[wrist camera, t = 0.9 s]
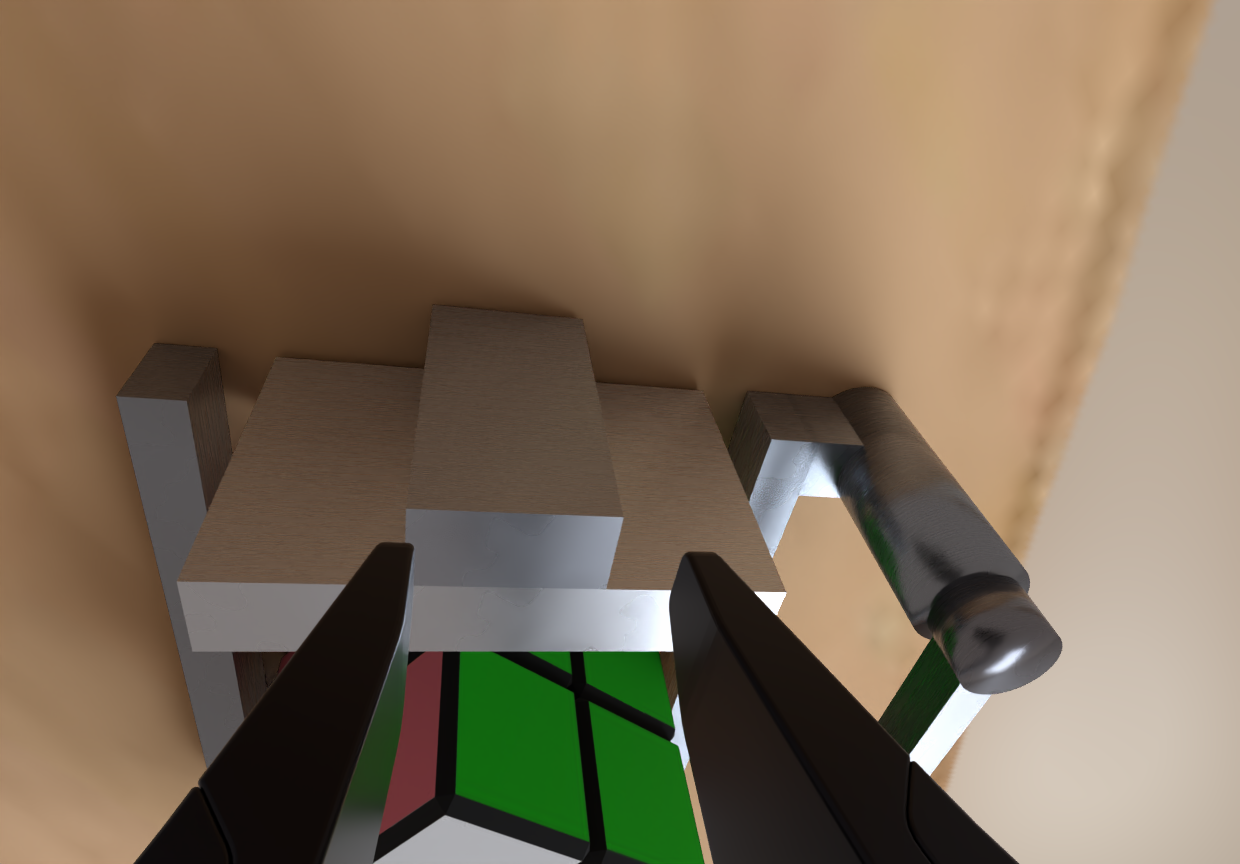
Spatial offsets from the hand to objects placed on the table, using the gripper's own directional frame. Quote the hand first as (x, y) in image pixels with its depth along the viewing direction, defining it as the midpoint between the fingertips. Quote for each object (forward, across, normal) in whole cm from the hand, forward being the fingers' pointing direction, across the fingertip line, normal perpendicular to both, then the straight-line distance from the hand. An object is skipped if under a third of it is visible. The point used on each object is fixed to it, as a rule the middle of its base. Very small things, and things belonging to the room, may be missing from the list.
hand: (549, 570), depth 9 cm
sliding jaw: (+12, 0, +4) cm, 13 cm away
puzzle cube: (+12, 0, +16) cm, 21 cm away
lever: (+5, -11, +10) cm, 16 cm away
